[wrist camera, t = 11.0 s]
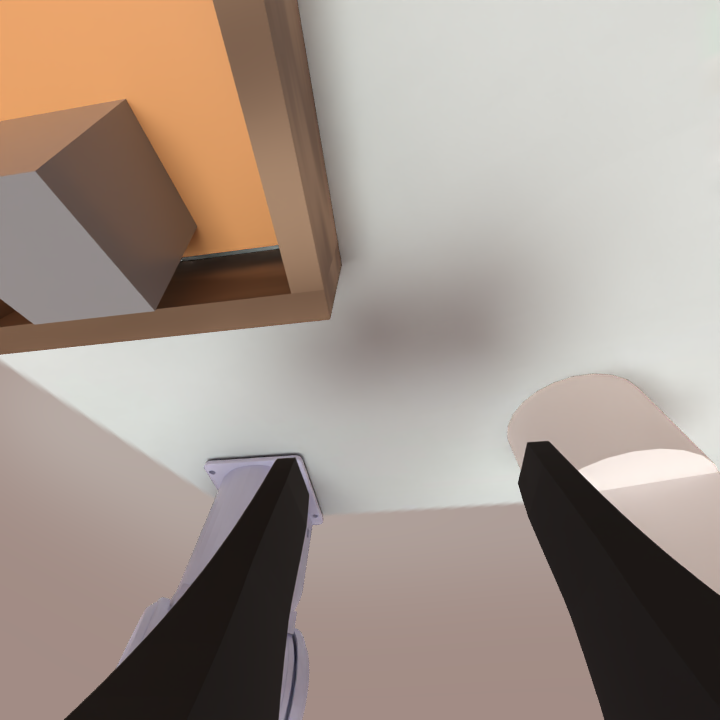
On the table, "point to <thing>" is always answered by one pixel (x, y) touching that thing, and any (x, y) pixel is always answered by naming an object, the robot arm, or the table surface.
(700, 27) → the table surface
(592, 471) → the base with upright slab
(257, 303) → the wooden box
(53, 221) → the gray block
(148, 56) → the orange flap
